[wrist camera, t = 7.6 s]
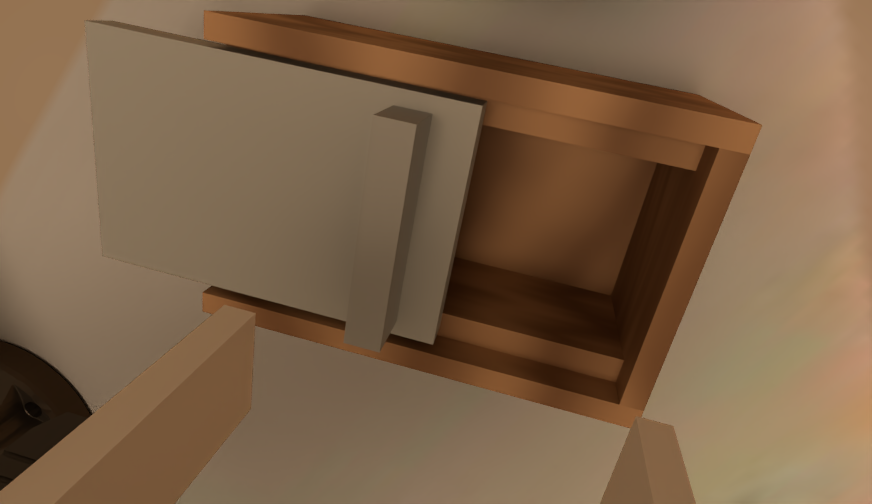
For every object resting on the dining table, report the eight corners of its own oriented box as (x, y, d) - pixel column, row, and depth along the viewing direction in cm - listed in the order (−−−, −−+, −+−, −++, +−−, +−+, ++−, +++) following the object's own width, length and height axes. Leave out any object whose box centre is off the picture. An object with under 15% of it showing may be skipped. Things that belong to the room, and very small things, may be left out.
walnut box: (288, 242, 34) (202, 311, 26) (305, 15, 29) (203, 10, 20) (615, 325, 32) (635, 429, 23) (698, 94, 26) (762, 125, 18)
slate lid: (125, 244, 27) (58, 278, 24) (112, 21, 23) (29, 19, 19) (439, 327, 25) (419, 377, 22) (487, 100, 21) (472, 116, 18)
